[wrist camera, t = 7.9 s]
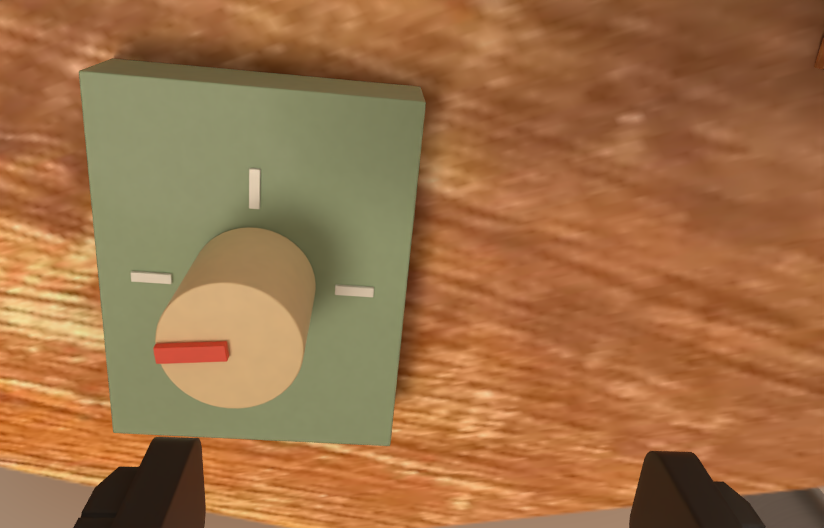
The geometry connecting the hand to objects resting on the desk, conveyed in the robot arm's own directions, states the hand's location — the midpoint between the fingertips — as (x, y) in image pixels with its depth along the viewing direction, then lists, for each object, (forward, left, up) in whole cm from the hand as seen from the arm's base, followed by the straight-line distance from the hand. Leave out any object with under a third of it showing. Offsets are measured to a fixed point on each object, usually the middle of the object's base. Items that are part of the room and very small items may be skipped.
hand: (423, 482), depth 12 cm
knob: (-3, +5, -13) cm, 14 cm away
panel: (-3, +5, -16) cm, 17 cm away
